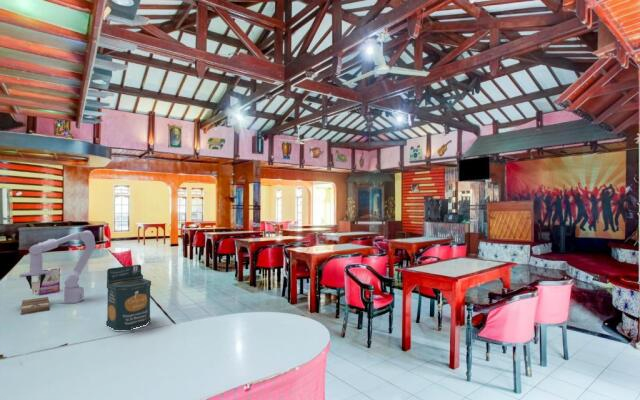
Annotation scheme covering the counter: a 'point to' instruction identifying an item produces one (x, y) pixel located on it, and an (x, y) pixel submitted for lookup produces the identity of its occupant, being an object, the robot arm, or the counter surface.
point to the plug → (36, 286)
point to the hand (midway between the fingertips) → (35, 288)
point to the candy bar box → (50, 282)
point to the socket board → (35, 305)
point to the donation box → (127, 298)
